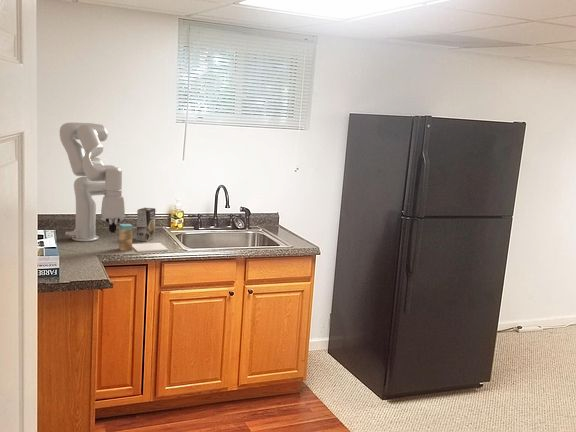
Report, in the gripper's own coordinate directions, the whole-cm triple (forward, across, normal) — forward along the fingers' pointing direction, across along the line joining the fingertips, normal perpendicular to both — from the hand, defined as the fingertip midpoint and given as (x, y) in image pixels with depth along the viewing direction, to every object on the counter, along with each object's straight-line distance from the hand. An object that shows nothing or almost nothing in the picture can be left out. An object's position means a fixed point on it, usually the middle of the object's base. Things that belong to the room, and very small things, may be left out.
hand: (112, 232), depth 278 cm
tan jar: (+9, +6, 0) cm, 11 cm away
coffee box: (+9, +21, +20) cm, 30 cm away
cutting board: (+9, +18, 0) cm, 20 cm away
